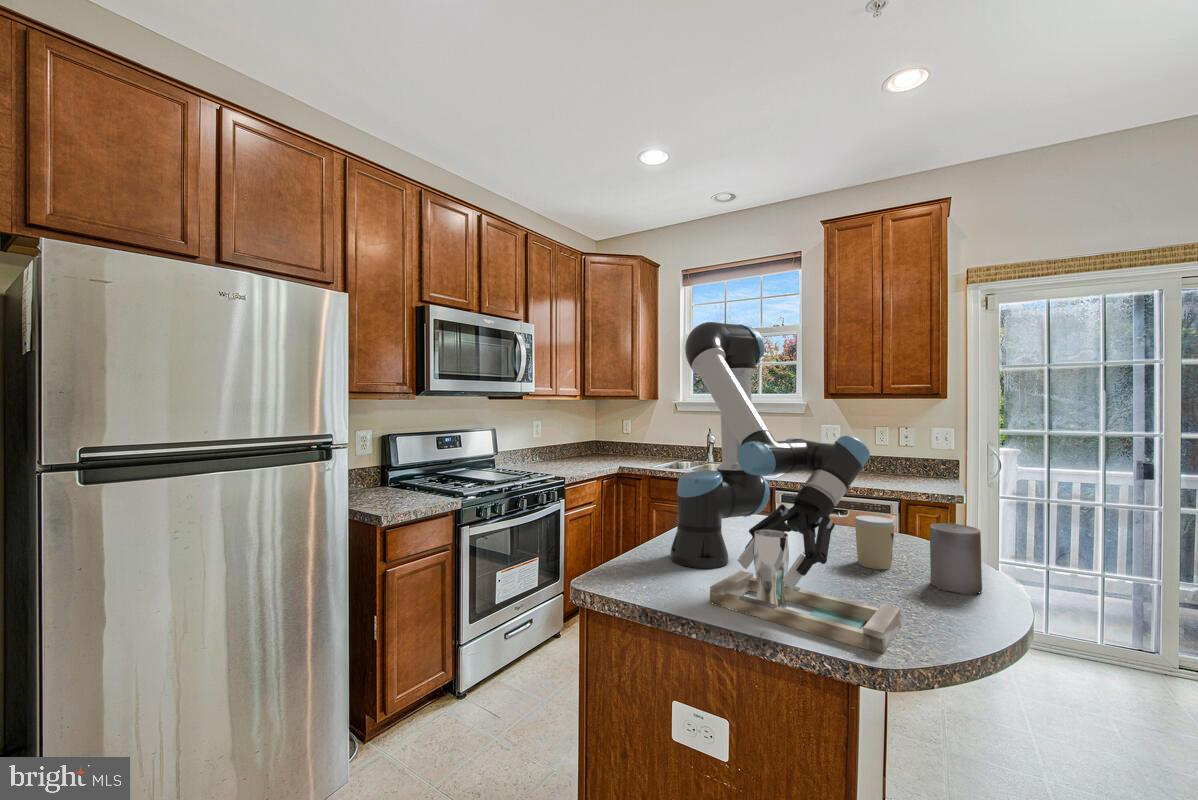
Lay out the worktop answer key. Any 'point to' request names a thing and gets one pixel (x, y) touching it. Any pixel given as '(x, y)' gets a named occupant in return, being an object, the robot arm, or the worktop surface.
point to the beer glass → (771, 565)
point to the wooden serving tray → (814, 613)
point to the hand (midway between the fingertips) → (762, 574)
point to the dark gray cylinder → (955, 558)
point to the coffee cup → (874, 541)
